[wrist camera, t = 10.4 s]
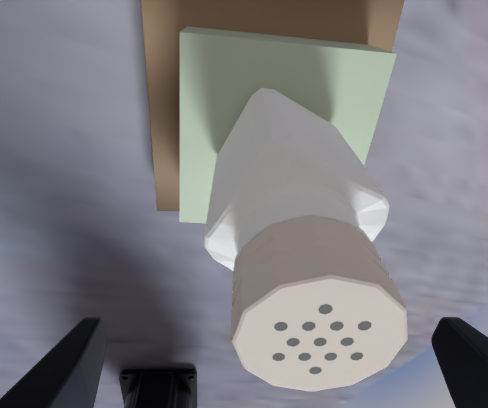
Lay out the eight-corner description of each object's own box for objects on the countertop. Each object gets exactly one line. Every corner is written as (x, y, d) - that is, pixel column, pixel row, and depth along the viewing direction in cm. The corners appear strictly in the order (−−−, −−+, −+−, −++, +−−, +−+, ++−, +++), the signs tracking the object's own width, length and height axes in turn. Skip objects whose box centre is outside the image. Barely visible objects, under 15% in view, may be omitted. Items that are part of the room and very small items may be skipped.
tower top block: (329, 199, 20) (345, 230, 17) (185, 191, 19) (179, 221, 16) (368, 44, 15) (397, 53, 13) (187, 26, 15) (179, 31, 12)
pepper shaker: (343, 128, 14) (486, 312, 6) (289, 202, 16) (340, 422, 8) (259, 77, 13) (288, 214, 5) (210, 162, 15) (172, 368, 7)
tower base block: (334, 190, 23) (349, 215, 20) (164, 185, 22) (157, 210, 19) (378, -5, 17) (405, -5, 15) (152, -22, 16) (139, -25, 14)
